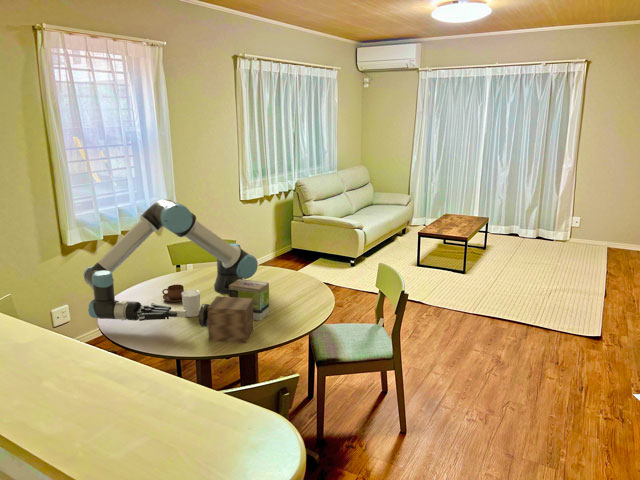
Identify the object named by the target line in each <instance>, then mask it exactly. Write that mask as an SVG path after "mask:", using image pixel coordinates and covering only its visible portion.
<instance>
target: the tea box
mask: <svg viewBox="0 0 640 480" xmlns="http://www.w3.org/2000/svg"><path fill="white" fill-rule="evenodd" d="M228 297H237V298H253V321H259V322H261V321H262V320H263V319H264V318H265V317H267V316H268V315H269V314H268V313H270V282H267V281H260V280H259V281H258V280H252V279H238V280H237V281H235V282H234V283H232V284H230V285H229V293H228Z"/></svg>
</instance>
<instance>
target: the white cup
mask: <svg viewBox="0 0 640 480" xmlns="http://www.w3.org/2000/svg"><path fill="white" fill-rule="evenodd" d="M181 302H182V303H181V304H182V308H183V309H182V310H186V314H187V316H186V318H193V317H197V316H198V317H199V312H200V308H201V291H200V290H198V289H187V290H184V292H182V301H181Z"/></svg>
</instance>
